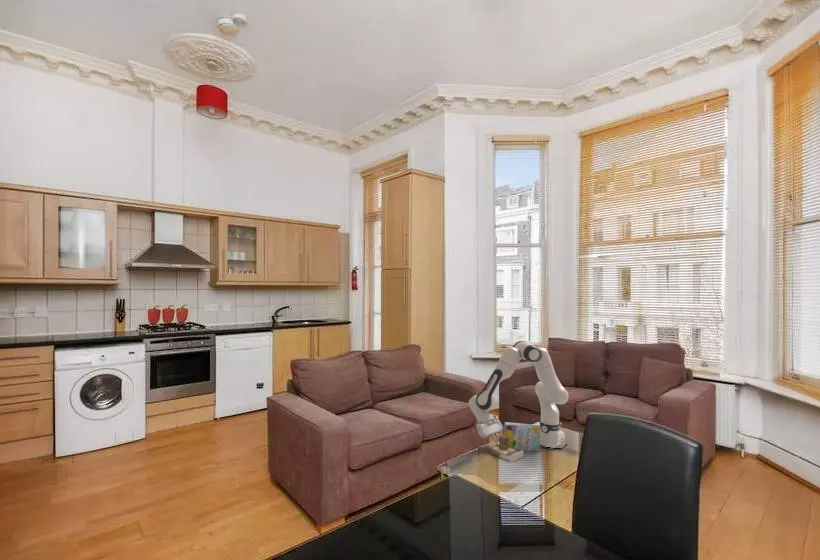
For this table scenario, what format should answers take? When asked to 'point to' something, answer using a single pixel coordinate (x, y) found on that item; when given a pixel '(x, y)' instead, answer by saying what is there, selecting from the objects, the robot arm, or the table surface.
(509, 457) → the tray
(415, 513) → the table surface
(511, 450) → the birch board
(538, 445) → the snack box
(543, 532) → the table surface
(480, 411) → the robot arm
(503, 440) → the walnut block
